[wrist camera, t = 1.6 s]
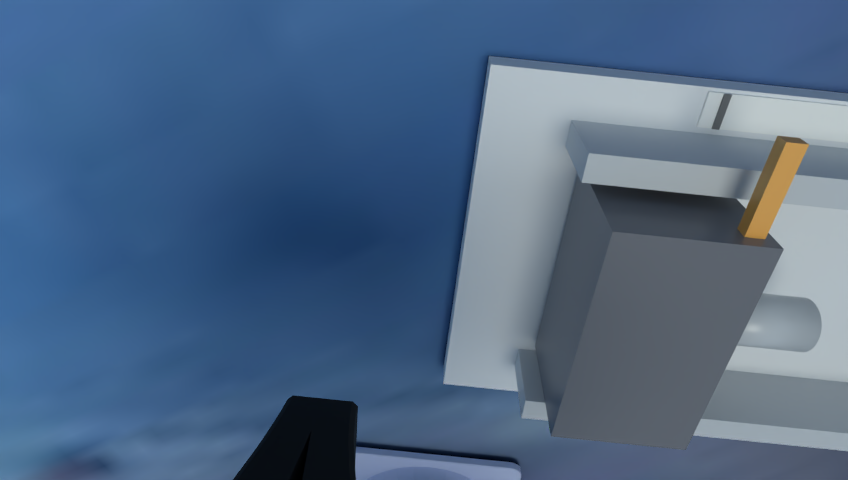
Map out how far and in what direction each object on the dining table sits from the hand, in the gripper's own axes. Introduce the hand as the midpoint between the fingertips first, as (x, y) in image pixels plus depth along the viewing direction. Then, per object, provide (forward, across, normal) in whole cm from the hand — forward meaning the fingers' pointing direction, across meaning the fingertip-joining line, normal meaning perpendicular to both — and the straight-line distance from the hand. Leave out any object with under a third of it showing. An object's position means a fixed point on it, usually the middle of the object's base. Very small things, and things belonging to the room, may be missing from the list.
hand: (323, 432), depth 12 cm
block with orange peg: (+8, -9, -1) cm, 12 cm away
